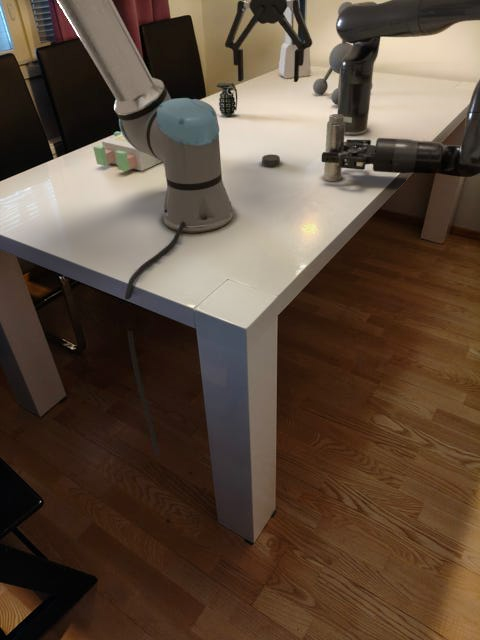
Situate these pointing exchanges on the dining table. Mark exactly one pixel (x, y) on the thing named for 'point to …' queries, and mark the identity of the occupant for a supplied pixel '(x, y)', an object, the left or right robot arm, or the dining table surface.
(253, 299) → the dining table surface
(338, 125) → the grey metal cylinder
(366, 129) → the right robot arm
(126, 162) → the decorative block
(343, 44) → the molecular model
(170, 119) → the left robot arm
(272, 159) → the lid
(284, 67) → the electronic device
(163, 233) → the dining table surface
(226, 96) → the grenade
